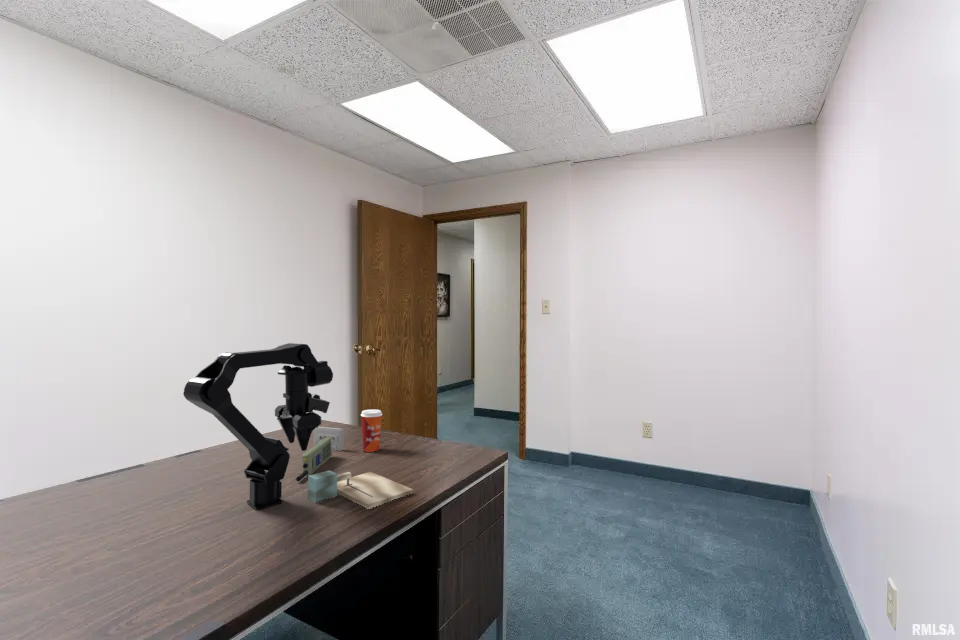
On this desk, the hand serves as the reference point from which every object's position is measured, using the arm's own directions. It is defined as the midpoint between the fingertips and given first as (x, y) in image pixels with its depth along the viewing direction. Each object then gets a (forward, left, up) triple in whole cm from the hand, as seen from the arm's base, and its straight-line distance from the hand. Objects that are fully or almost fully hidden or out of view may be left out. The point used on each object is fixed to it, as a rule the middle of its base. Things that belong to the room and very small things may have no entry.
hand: (297, 446), depth 122 cm
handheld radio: (+12, +13, -12) cm, 22 cm away
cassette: (+25, +30, -12) cm, 41 cm away
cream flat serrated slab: (+13, -14, -12) cm, 23 cm away
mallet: (+5, -9, -12) cm, 16 cm away
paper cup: (+35, +18, -12) cm, 41 cm away
